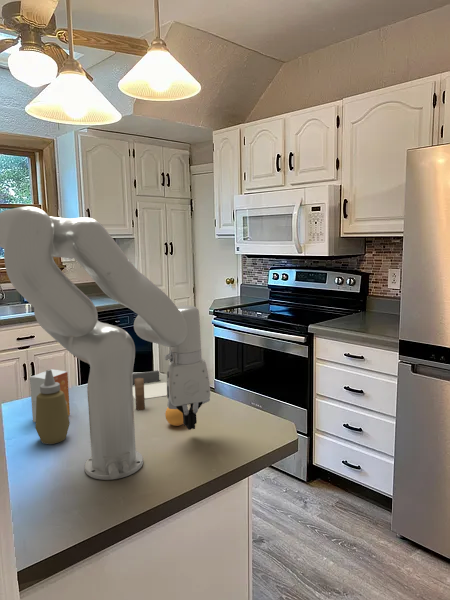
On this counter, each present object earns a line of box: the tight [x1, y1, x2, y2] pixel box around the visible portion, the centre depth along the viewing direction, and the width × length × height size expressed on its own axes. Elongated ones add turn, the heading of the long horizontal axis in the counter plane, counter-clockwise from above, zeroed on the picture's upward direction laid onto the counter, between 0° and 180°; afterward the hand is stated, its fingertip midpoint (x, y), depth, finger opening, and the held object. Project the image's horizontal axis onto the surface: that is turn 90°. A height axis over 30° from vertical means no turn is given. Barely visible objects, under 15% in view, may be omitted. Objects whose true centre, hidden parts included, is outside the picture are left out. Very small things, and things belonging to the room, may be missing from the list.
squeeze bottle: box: [35, 369, 71, 445], centre depth 115 cm, size 8×8×18 cm
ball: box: [164, 407, 184, 427], centre depth 123 cm, size 6×6×6 cm
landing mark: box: [133, 381, 167, 401], centre depth 151 cm, size 13×13×1 cm
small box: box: [29, 368, 71, 423], centre depth 129 cm, size 8×6×13 cm
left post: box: [134, 378, 146, 411], centre depth 135 cm, size 3×3×9 cm
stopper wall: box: [133, 370, 160, 386], centre depth 160 cm, size 2×10×4 cm, turn 112°
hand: (190, 427), depth 115 cm, fingers closed
